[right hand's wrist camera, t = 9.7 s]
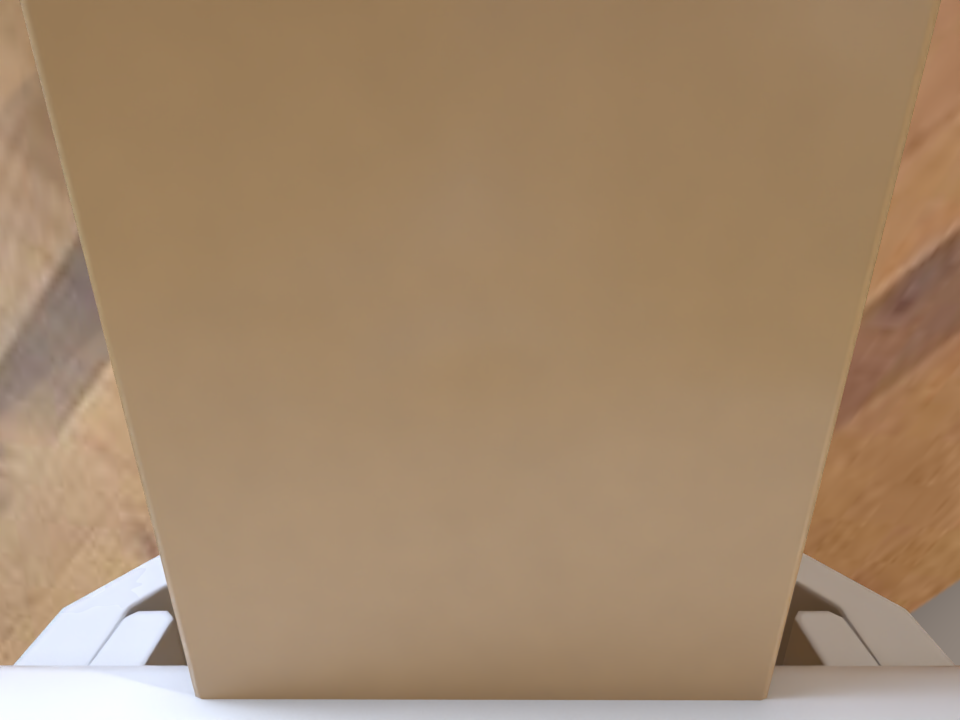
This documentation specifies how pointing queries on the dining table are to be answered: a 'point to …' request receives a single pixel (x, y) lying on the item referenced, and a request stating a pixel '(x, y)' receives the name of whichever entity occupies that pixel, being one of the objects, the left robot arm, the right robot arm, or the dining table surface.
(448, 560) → the bar
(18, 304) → the dining table surface
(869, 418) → the dining table surface
